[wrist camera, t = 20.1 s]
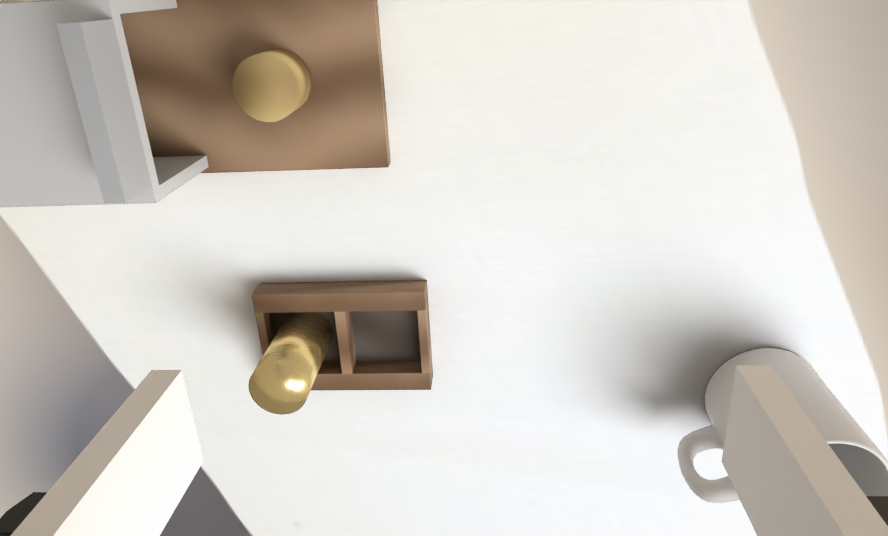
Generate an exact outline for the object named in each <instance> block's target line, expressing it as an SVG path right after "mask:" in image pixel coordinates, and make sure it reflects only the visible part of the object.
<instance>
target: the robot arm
mask: <svg viewBox="0 0 888 536" xmlns="http://www.w3.org/2000/svg"><path fill="white" fill-rule="evenodd" d="M203 461H204V459H203V455H202V451H201V447H200V443H199V438H198V434H197V430H196V426H195V422H194V418H193V414H192V410H191V406H190V402H189V398H188V393H187V389H186V385H185V381H184V377H183V373H182V370H151V372H150V373H149V374H148V375H147V376H146V377H145V379H144V380H143V381H142V382H141V383H140V384H139V386H138V387H137V388H136V389H135V390H134V391H133V393H132V394H131V395H130V396H129V397H128V399H127V400H126V401H125V402H124V404H122V406H121V407H120V408H119V409H118V410H117V411H116V413H115V414H114V415H113V416H112V417H111V418H110V420H109V421H108V422H107V423H106V424H105V426H104V427H103V428H102V429H101V430H100V431H99V433H98V434H97V435H96V436H95V437H94V438H93V440H92V441H91V442H90V443H89V444H88V445H87V447H86V448H85V449H84V450H83V451H82V452H81V454H80V455H79V456H78V457H77V458H76V459H75V461H74V462H73V463H72V464H71V465H70V466H69V468H68V469H67V470H66V471H65V472H64V474H63V475H62V476H61V477H60V478H59V479H58V481H57V482H56V483H55V484H54V485H53V487H52V488H51V489H50V490H49V491H48V492H47V493H41V492H38V493H36V492H34V493H32V494H30V495H29V496H28V497H26V498H25V499H23V500H22V501H21V502H19V503H18V504H16V505H15V506H13V507H12V508H11V509H9V510H8V511H7V512H6V513H5V514H4V515H3V516H2V517H1V518H0V536H160V534H161V532H162V531H163V529H164V527H165V525H166V523H167V522H168V520H169V518H170V517H171V515H172V514H173V512H174V510H175V508H176V506H177V505H178V503H179V502H180V500H181V498H182V496H183V495H184V493H185V491H186V490H187V488H188V486H189V485H190V483H191V481H192V479H193V478H194V476H195V474H196V473H197V471H198V469H199V468H200V466H201V464H202V462H203ZM722 463H723V465H724V467H725V469H726V471H727V473H728V476H729V478H730V480H731V482H732V484H733V486H734V488H735V490H736V492H737V494H738V496H739V498H740V500H741V503H742V505H743V507H744V509H745V511H746V513H747V515H748V517H749V519H750V521H751V523H752V525H753V527H754V530H755V532H756V534H757V536H888V496H865V494H864V493H863V491H862V490H861V489H860V487H859V486H858V485H857V483H856V482H855V480H854V479H853V478H852V476H851V475H850V473H849V472H848V471H847V469H846V468H845V467H844V465H843V464H842V462H841V461H840V460H839V458H838V457H837V456H836V454H835V453H834V451H833V450H832V449H831V447H830V446H829V445H828V443H827V442H826V440H825V439H824V438H823V436H822V435H821V434H820V432H819V431H818V429H817V428H816V427H815V425H814V424H813V423H812V421H811V420H810V418H809V417H808V416H807V414H806V413H805V411H804V410H803V409H802V407H801V406H800V405H799V403H798V402H797V400H796V399H795V398H794V396H793V395H792V394H791V392H790V391H789V389H788V388H787V387H786V385H785V384H784V383H783V381H782V380H781V378H780V377H779V376H778V374H777V373H776V372H775V370H774V369H773V367H772V366H771V365H745V366H736V371H735V378H734V384H733V391H732V397H731V404H730V411H729V417H728V424H727V430H726V437H725V444H724V450H723V457H722Z"/></svg>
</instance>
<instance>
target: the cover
mask: <svg viewBox="0 0 888 536" xmlns="http://www.w3.org/2000/svg"><path fill="white" fill-rule="evenodd" d="M172 8H177V3H176V0H52V1H33V2H15V3H0V207H29V206H65V205H101V204H137V203H157V202H158V201H160V200H161V199H163V198H164V197H165V196H167V195H168V194H170V193H171V192H173V191H174V190H176V189H177V188H179V187H180V186H182V185H183V184H184V183H186V182H187V181H189V180H190V179H192V178H193V177H195V176H196V175H198V174H199V173H201V172H202V171H203V170H205V169H206V168H208V167H209V166H208V161H207V155H205V156H175V157H153V156H152V152H151V148H150V143H149V139H148V135H147V130H146V126H145V122H144V117H143V113H142V108H141V104H140V100H139V95H138V91H137V87H136V82H135V78H134V74H133V69H132V65H131V61H130V56H129V52H128V48H127V43H126V39H125V35H124V30H123V26H122V22H121V17H120V14H123V13H133V12H143V11H152V10H162V9H172Z"/></svg>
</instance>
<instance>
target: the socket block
mask: <svg viewBox="0 0 888 536" xmlns="http://www.w3.org/2000/svg"><path fill="white" fill-rule="evenodd" d="M252 299H253V304H254V310H255V315H256V320H257V326H258V331H259V337H260V342H261V348H262V353H263V355H264V354H265V352H266V350H267V349H268V347H269V345H270V344H271V342H272V340H273V339H274V337H275V335H276V334H277V332H278V330H279V329H280V327H281V325H282V324H283V322H284V320H285V319H286V317H287V316H288V315H289V314H290V313H292V312H319V313H321V314H322V315H324V316H325V317H326V318H327V319H328V320H329V322H330V324H331V325H332V328H333V339H332V342H331V344H330V346H329V348H328V351H327V353H326V355H325V358H324V360H323V362H322V365H321V367H320V369H319V371H318V374H317V376H316V378H315V381H314V383H313V385H312V388H311V390H431V385H432V378H433V371H432V355H431V340H430V324H429V309H428V293H427V280H419V281H364V282H309V283H260V285H259V286H258V287H257V289H256V290H255V291H254V293H253V294H252Z"/></svg>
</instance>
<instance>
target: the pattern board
mask: <svg viewBox="0 0 888 536" xmlns="http://www.w3.org/2000/svg"><path fill="white" fill-rule="evenodd" d="M176 3H177V8H172V9H162V10H152V11H143V12H133V13H123V14H120V17H121V22H122V26H123V30H124V35H125V39H126V43H127V48H128V52H129V56H130V61H131V65H132V69H133V74H134V78H135V82H136V87H137V91H138V95H139V100H140V104H141V108H142V113H143V117H144V122H145V126H146V130H147V135H148V139H149V143H150V148H151V152H152V156H153V157H175V156H205V155H207V161H208V166H209V167H208V168H206V169H205V170H203V171H202V172H201V173H220V172H252V171H283V170H315V169H347V168H379V167H388V166H389V165H390V151H389V139H388V127H387V115H386V103H385V90H384V78H383V66H382V54H381V42H380V30H379V18H378V6H377V0H176Z"/></svg>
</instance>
